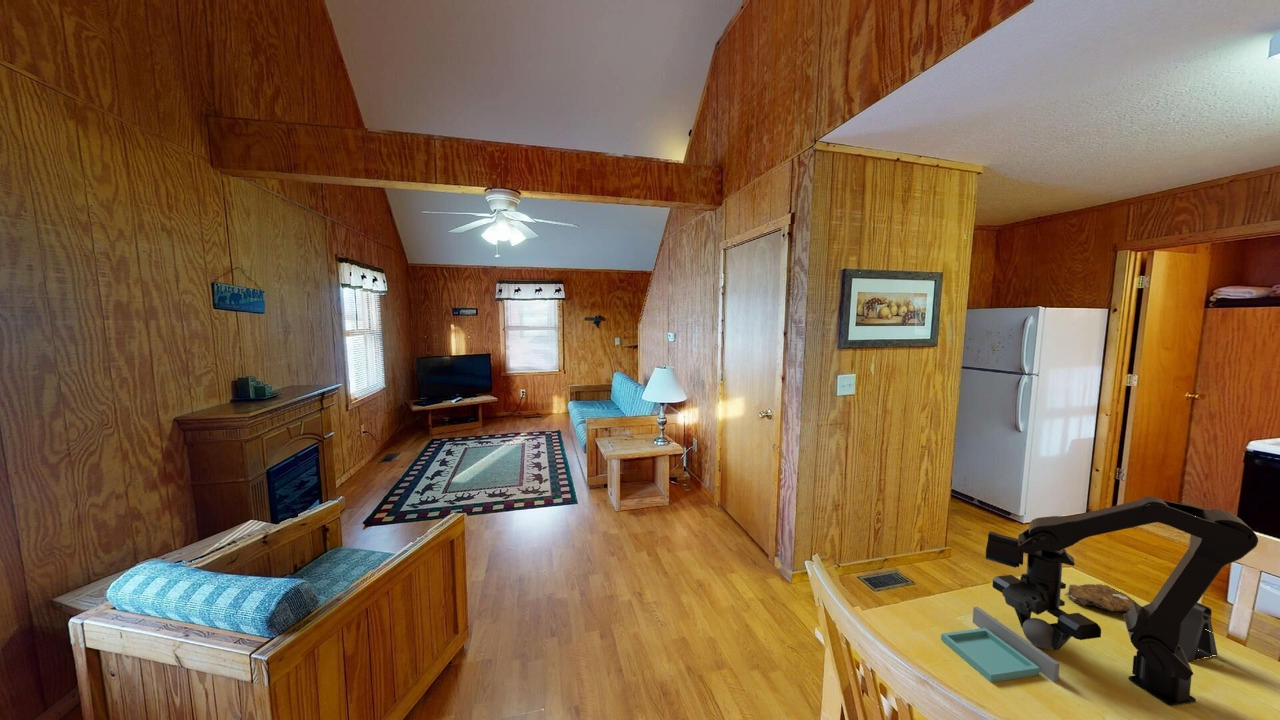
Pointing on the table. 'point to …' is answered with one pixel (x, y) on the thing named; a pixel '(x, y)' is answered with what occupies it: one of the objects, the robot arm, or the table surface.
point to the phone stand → (1198, 634)
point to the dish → (990, 655)
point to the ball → (1038, 632)
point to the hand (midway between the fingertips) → (1039, 639)
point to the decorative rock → (1100, 597)
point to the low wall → (1018, 644)
